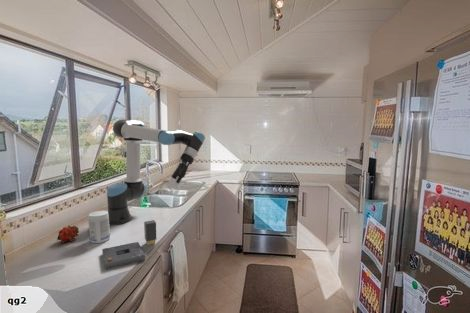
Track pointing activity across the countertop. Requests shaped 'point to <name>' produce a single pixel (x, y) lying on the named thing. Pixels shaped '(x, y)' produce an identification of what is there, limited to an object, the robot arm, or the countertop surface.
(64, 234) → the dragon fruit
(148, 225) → the plug
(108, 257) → the socket plate
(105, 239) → the supplement tub
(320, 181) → the countertop surface
